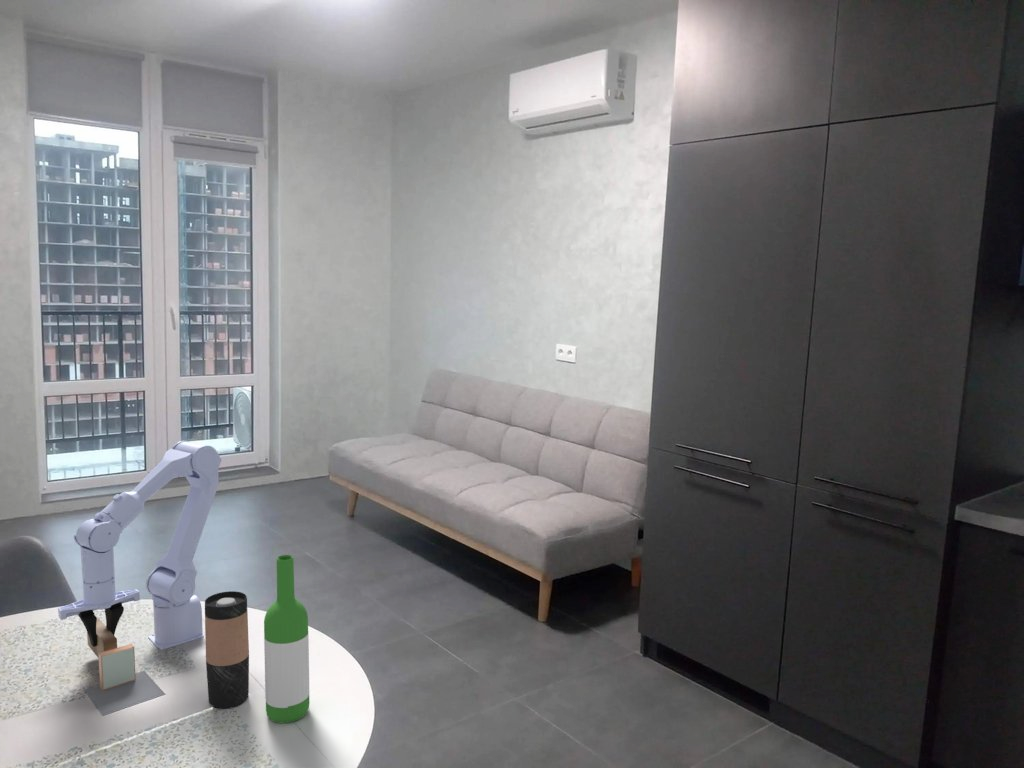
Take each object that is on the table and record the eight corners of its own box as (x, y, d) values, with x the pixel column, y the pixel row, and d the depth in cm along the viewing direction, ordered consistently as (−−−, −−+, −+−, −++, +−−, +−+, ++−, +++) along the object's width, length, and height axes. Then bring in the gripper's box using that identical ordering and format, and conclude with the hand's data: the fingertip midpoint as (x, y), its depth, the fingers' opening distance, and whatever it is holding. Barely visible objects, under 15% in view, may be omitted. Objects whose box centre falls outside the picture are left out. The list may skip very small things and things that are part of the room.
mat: (144, 672, 153) (144, 670, 153) (165, 696, 145) (165, 694, 144) (84, 691, 146) (83, 689, 146) (102, 717, 137) (102, 715, 137)
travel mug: (258, 693, 146) (256, 594, 144) (231, 713, 139) (228, 610, 137) (226, 685, 149) (223, 588, 146) (198, 705, 142) (194, 603, 139)
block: (133, 677, 151) (131, 643, 150) (136, 680, 149) (134, 646, 148) (100, 687, 146) (98, 653, 146) (102, 691, 145) (101, 656, 144)
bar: (87, 644, 158) (86, 622, 157) (100, 641, 160) (99, 618, 159) (104, 666, 149) (103, 642, 149) (117, 662, 151) (116, 638, 150)
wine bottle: (315, 717, 138) (313, 560, 135) (272, 730, 134) (268, 568, 130) (302, 698, 145) (300, 547, 141) (261, 709, 141) (257, 554, 137)
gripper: (63, 594, 145) (67, 661, 146) (143, 575, 155) (146, 638, 156) (54, 583, 150) (57, 648, 151) (132, 565, 160) (135, 627, 161)
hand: (102, 642), depth 154 cm, fingers closed on bar, 2 cm apart
